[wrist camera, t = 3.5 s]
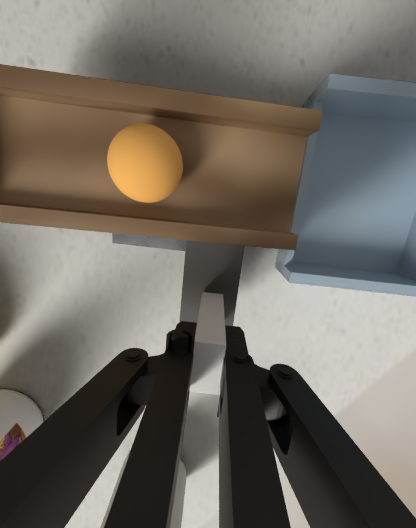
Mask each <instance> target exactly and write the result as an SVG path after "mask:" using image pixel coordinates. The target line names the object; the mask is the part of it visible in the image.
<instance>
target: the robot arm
mask: <svg viewBox="0 0 416 528" xmlns="http://www.w3.org/2000/svg"><path fill="white" fill-rule="evenodd" d="M245 341H246V340H245V336H244V331H243V330H242V329H241V328H240V327H236V326H227V325H225V317H224V301H223V294H216V293H208V292H202V298H201V304H200V310H199V316H198V322H197V323H196V322H187V321H181V322H180V323H178V324H177V326H176V329H175V330H172V331H170V332H169V333H168V334H167V339H166V351H165V353H164V354H161V355H158V356H151V357H148V353H147V352H146V351H145V350H143V349H140V348H130V349H127V350H124V351H122V352H121V353H120V354H119V355H117V356H116V357H115V358H114V359H113V360H112V361H111V362H110V363H109V364H107V365H106V366H105V367H104V368H103V369H102V370H101V371H100V372H99V373H97V374H96V375H95V376H94V377H93V378H92V379H91V380H90V381H89V382H87V383H86V384H85V385H84V386H83V387H82V388H81V389H80V390H79V391H77V392H76V393H75V394H74V395H73V396H72V397H71V398H70V399H69V400H67V401H66V402H65V403H64V404H63V405H62V406H61V407H60V408H59V409H58V410H56V411H55V412H54V413H53V414H52V415H51V416H50V417H49V418H48V419H46V420H45V421H44V422H43V423H42V424H41V425H40V426H39V427H38V428H36V429H35V430H34V431H33V432H32V433H31V434H30V435H29V436H28V437H26V438H25V439H24V440H23V441H22V442H21V443H20V444H19V445H18V446H16V447H15V448H14V449H13V450H12V451H11V452H10V453H9V454H8V455H6V456H5V457H4V458H3V459H2V460H1V461H0V528H64V527H65V526H66V524H67V523H68V521H69V520H70V518H71V517H72V515H73V514H74V512H75V511H76V510H77V508H78V507H79V505H80V504H81V502H82V501H83V499H84V498H85V496H86V495H87V493H88V492H89V490H90V489H91V487H92V486H93V484H94V483H95V481H96V480H97V478H98V477H99V475H100V474H101V473H102V471H103V470H104V468H105V467H106V465H107V464H108V462H109V461H110V459H111V458H112V456H113V455H114V453H115V452H116V450H117V449H118V447H119V446H120V444H121V443H122V441H123V440H124V438H125V437H126V436H127V434H128V433H129V431H130V430H131V428H132V427H133V425H134V424H135V422H136V421H137V419H138V418H139V416H140V415H141V413H142V412H143V410H144V408H145V406H146V408H145V411H144V414H143V417H142V420H141V423H140V425H139V428H138V431H137V434H136V437H135V440H134V443H133V445H132V448H131V451H130V454H129V457H128V460H127V463H126V466H125V468H124V471H123V474H122V477H121V480H120V483H119V486H118V489H117V491H116V494H115V497H114V500H113V503H112V506H111V509H110V511H109V514H108V517H107V520H106V523H105V526H104V528H170V524H171V518H172V511H173V504H174V497H175V490H176V483H177V476H178V469H179V462H180V455H181V448H182V441H183V435H184V428H185V421H186V414H187V407H188V400H189V392H197V393H206V394H215V395H219V394H220V399H219V406H218V413H217V417H219V528H291V527H290V522H289V518H288V514H287V509H286V505H285V500H284V496H283V491H282V487H281V482H280V478H279V473H278V469H277V464H276V460H275V455H274V451H273V448H274V450H275V453H276V455H277V457H278V459H279V461H280V463H281V465H282V467H283V470H284V472H285V474H286V476H287V478H288V480H289V483H290V485H291V487H292V489H293V491H294V493H295V495H296V498H297V500H298V502H299V504H300V506H301V508H302V510H303V513H304V515H305V517H306V519H307V521H308V523H309V525H310V528H416V518H415V517H414V516H413V515H412V513H411V512H410V511H409V510H408V508H407V507H406V506H405V505H404V504H403V502H402V501H401V500H400V499H399V497H398V496H397V495H396V493H395V492H394V491H393V490H392V488H391V487H390V486H389V485H388V484H387V482H386V481H385V480H384V479H383V477H382V476H381V475H380V474H379V472H378V471H377V470H376V469H375V468H374V466H373V465H372V464H371V462H370V461H369V460H368V459H367V458H366V456H365V455H364V454H363V452H362V451H361V450H360V449H359V448H358V446H357V445H356V444H355V443H354V441H353V440H352V439H351V438H350V437H349V435H348V434H347V433H346V432H345V430H344V429H343V428H342V426H341V425H340V424H339V423H338V422H337V420H336V419H335V418H334V416H333V415H332V414H331V413H330V411H329V410H328V409H327V408H326V407H325V405H324V404H323V403H322V402H321V400H320V399H319V398H318V397H317V395H316V394H315V393H314V392H313V390H312V389H311V388H310V387H309V385H308V384H307V383H306V382H305V380H304V379H303V378H302V377H301V375H300V374H299V373H298V372H297V371H296V370H295V369H293V368H292V367H290V366H287V365H284V364H275V365H273V366H271V368H270V370H267V369H264V368H261V367H259V366H257V365H255V364H254V362H253V359H252V357H251V356H250V355H249V354H248V350H247V345H246V342H245ZM272 446H273V447H272Z"/></svg>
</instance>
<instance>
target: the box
mask: <svg viewBox="0 0 416 528" xmlns="http://www.w3.org/2000/svg"><path fill="white" fill-rule="evenodd" d="M304 108H306V109H313V110H320V111H323V114H322V119H321V124H320V129H319V131H317V132H316V133H314V134H312V135H310V136H308V137H307V142H306V148H305V153H304V158H303V163H302V169H301V174H300V179H299V185H298V190H297V195H296V201H295V206H294V211H293V217H292V222H291V227H290V232H292V233H294V234H297V235H298V241H297V246H296V250H286V249H278V254H277V259H276V265H275V268H276V269H277V270H278V271H279V272H280V273H281V274H282V275H283V276H284V277H285V279H286V280H287V281H288V282H289V283H298V284H307V285H316V286H325V287H334V288H343V289H352V290H361V291H370V292H379V293H389V294H398V295H407V296H416V83H415V82H405V81H396V80H387V79H377V78H368V77H358V76H349V75H340V74H329V75H328V77H327V78H326V79H325V80H324V81H323V82H322V83H321V84H320V86H319V87H318V88H317V89H316V90H315V91H314V92H313V93H312V95H311V96H310V97H309V98H308V99H307V100H306V101H305V103H304Z"/></svg>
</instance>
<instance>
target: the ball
mask: <svg viewBox="0 0 416 528" xmlns="http://www.w3.org/2000/svg"><path fill="white" fill-rule="evenodd" d="M107 165H108V170H109V173H110V176H111V178H112V180H113V182H114V183H115V185H116V186H117V187H118V189H119V190H120V191H121V192H122V193H124V194H125V195H126V196H128V197H130V198H131V199H134V200H136V201H140V202H145V203H152V202H157V201H160V200H163V199H165V198H167V197H168V196H169V195H171V194H172V193H173V192H174V191H175V189H176V188H177V186H178V185H179V183H180V180H181V177H182V172H183V161H182V156H181V153H180V150H179V148H178V146H177V144H176V143H175V141H174V140H173V138H172V137H171V136H170V135H169V134H167V133H166V132H165V131H164V130H162V129H160V128H159V127H156V126H154V125H150V124H145V123H139V124H133V125H130V126H127V127H125V128H124V129H122V130H121V131H119V132H118V133H117V134H116V136H115V137H114V138H113V140H112V141H111V143H110V146H109V149H108V154H107Z"/></svg>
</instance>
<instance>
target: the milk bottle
mask: <svg viewBox="0 0 416 528" xmlns="http://www.w3.org/2000/svg"><path fill="white" fill-rule="evenodd" d="M42 423H43V417H42V413H41V411H40V409H39V408H38V406H37V405H36V404H35V403H34V402H33V400H31V399H30V398H29V397H27V396H26V395H24V394H22V393H20V392H17V391H14V390H8V389H0V461H1V460H2V459H3V458H4V457H5V456H6V455H8V454H9V453H10V452H11V451H12V450H13V449H14V448H15V447H16V446H18V445H19V444H20V443H21V442H22V441H23V440H24V439H25V438H26V437H28V436H29V435H30V434H31V433H32V432H33V431H34V430H35V429H36V428H38V427H39V426H40V425H41V424H42Z"/></svg>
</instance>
